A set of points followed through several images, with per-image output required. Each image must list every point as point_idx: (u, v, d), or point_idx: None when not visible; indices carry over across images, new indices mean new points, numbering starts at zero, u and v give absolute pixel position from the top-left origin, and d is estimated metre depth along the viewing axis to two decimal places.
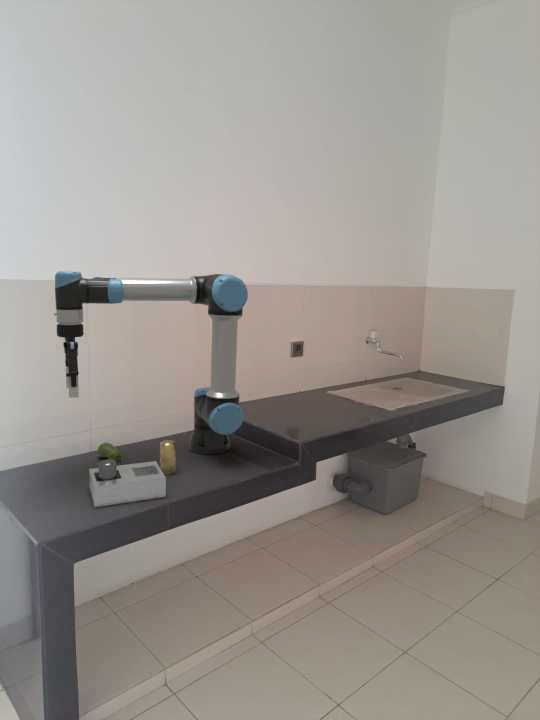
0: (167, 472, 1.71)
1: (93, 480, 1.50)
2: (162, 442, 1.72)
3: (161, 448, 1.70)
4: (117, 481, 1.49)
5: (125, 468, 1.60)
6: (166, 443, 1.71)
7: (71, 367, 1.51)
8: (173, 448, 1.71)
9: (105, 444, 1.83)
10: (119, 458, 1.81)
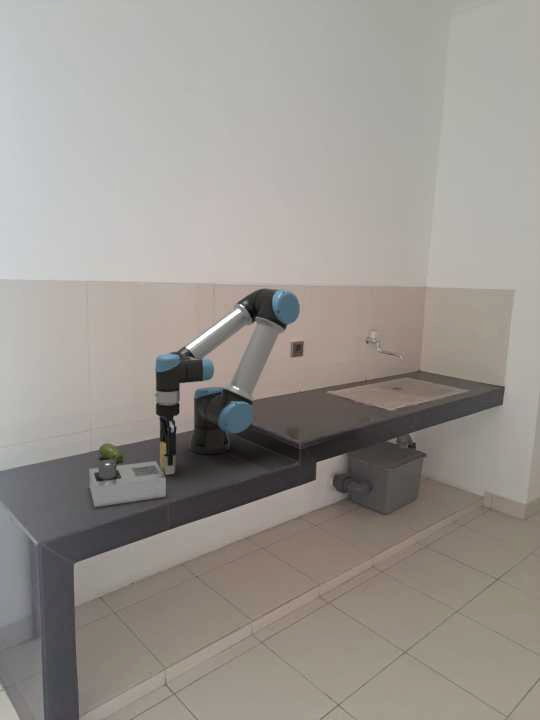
0: None
1: (93, 480, 1.50)
2: (162, 442, 1.72)
3: (161, 448, 1.70)
4: (117, 481, 1.49)
5: (125, 468, 1.60)
6: None
7: (170, 449, 1.66)
8: None
9: (106, 445, 1.82)
10: (121, 459, 1.80)
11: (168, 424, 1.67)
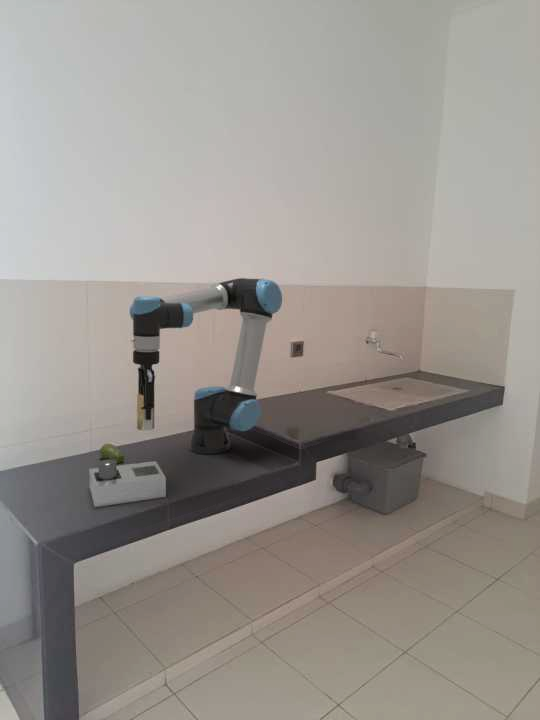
0: None
1: (93, 480, 1.50)
2: (140, 394, 1.55)
3: (138, 401, 1.54)
4: (117, 481, 1.49)
5: (125, 468, 1.60)
6: None
7: (148, 401, 1.49)
8: None
9: (107, 445, 1.82)
10: (122, 459, 1.80)
11: (146, 373, 1.50)
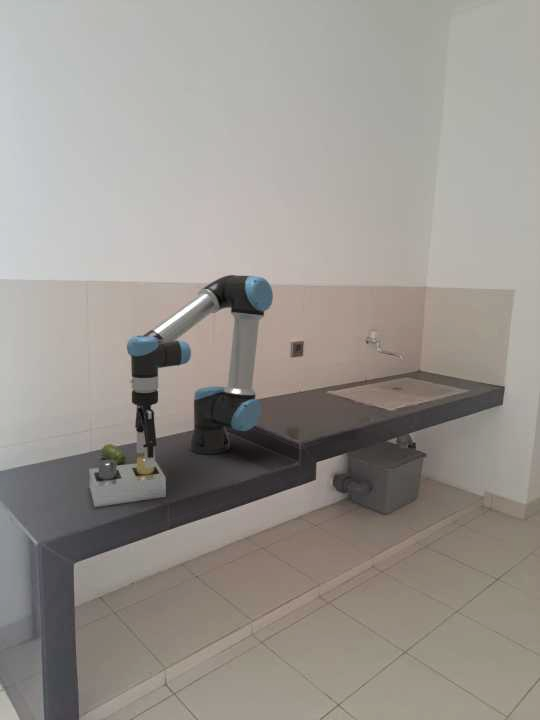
0: None
1: (93, 480, 1.50)
2: (139, 458, 1.57)
3: (138, 464, 1.56)
4: (117, 481, 1.49)
5: (125, 468, 1.60)
6: (144, 458, 1.57)
7: (149, 438, 1.47)
8: None
9: (109, 446, 1.81)
10: (123, 460, 1.80)
11: (145, 412, 1.51)
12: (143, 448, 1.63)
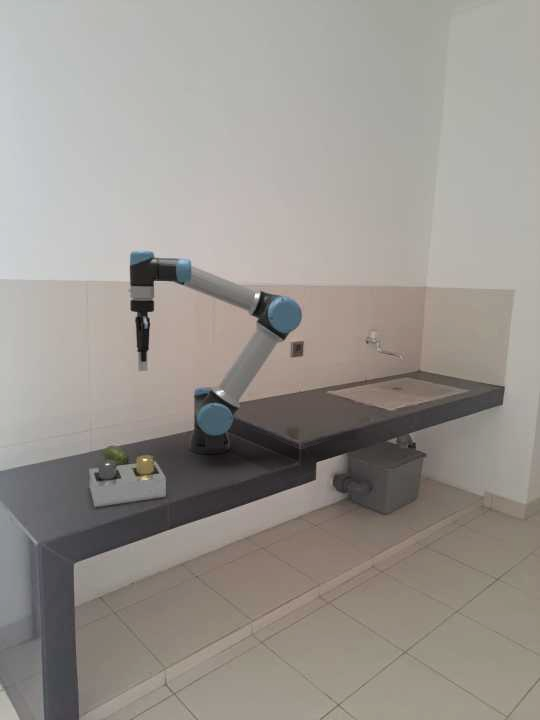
0: None
1: (93, 480, 1.50)
2: (139, 457, 1.57)
3: (137, 464, 1.56)
4: (117, 481, 1.49)
5: (125, 468, 1.60)
6: (143, 458, 1.57)
7: (143, 345, 1.69)
8: (150, 464, 1.56)
9: (112, 447, 1.80)
10: (126, 461, 1.79)
11: (142, 320, 1.68)
12: None
